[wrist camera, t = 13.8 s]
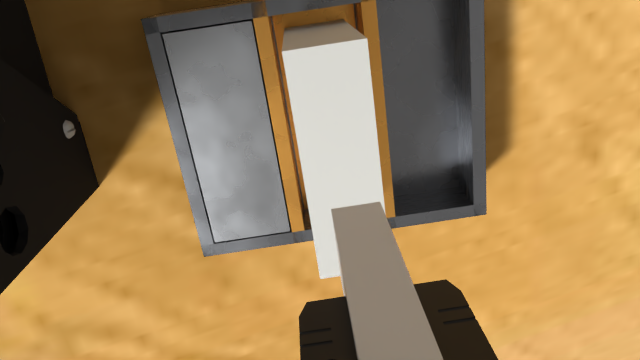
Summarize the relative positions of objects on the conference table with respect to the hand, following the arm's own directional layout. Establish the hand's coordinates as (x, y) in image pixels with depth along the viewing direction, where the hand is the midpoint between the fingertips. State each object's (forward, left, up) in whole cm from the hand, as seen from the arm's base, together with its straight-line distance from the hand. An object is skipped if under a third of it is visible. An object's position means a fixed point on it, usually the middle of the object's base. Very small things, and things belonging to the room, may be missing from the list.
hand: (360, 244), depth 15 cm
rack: (0, 0, -19) cm, 19 cm away
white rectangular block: (0, 0, -17) cm, 17 cm away
